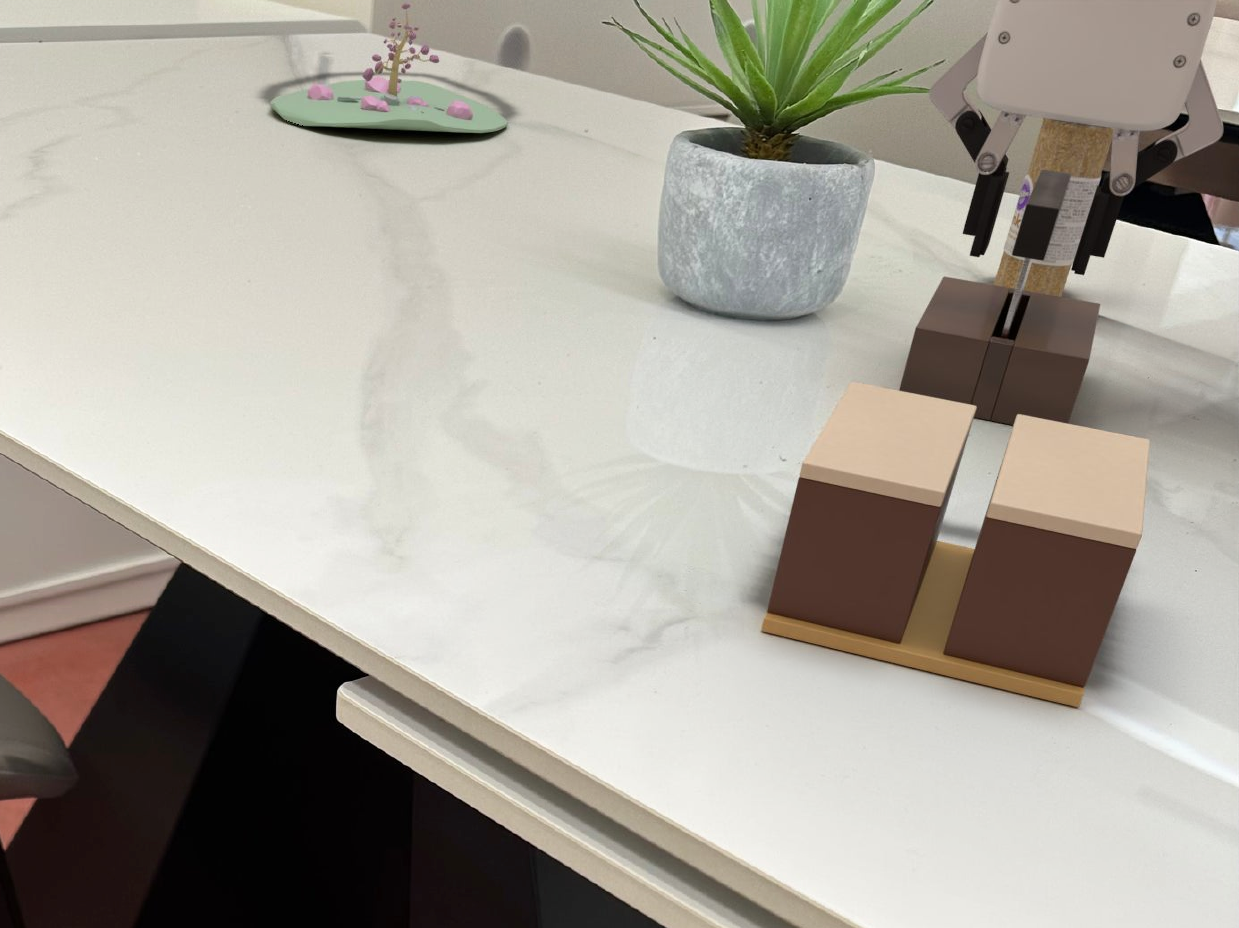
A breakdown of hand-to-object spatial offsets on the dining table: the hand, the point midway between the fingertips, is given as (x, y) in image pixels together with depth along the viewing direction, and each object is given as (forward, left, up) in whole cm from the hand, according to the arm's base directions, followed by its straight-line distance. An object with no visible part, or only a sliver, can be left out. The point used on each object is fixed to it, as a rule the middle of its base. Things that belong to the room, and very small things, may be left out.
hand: (1029, 256), depth 87 cm
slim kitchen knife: (0, 0, -7) cm, 7 cm away
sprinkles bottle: (-15, -10, -7) cm, 19 cm away
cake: (+26, +19, -7) cm, 33 cm away
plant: (-7, -73, -7) cm, 74 cm away
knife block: (0, 0, -7) cm, 7 cm away
